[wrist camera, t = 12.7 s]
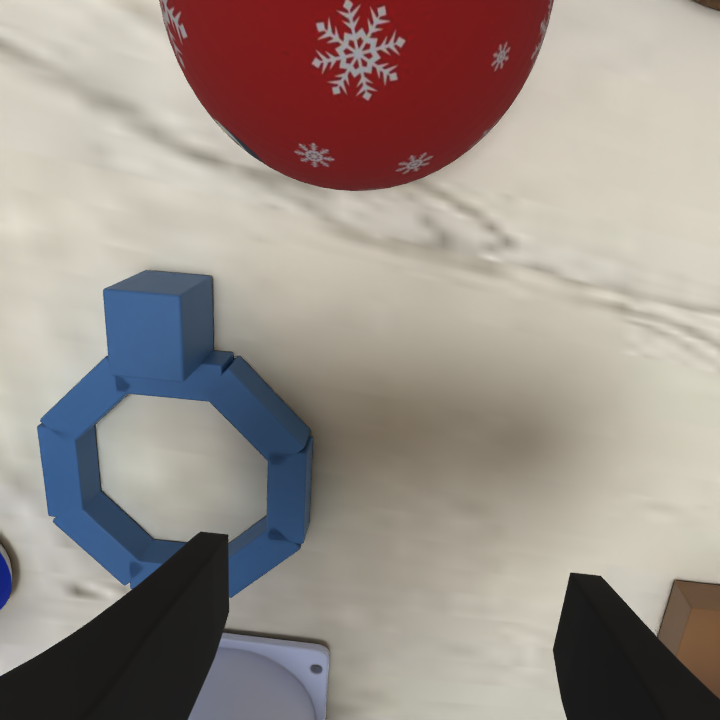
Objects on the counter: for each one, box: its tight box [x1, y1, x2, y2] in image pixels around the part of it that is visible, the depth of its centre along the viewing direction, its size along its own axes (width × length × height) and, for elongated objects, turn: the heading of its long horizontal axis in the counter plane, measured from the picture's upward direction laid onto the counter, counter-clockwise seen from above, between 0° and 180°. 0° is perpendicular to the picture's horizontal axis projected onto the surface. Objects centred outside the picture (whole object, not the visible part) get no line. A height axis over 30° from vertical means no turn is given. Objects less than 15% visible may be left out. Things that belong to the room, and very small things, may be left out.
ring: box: [37, 270, 313, 598], centre depth 21 cm, size 12×10×3 cm
